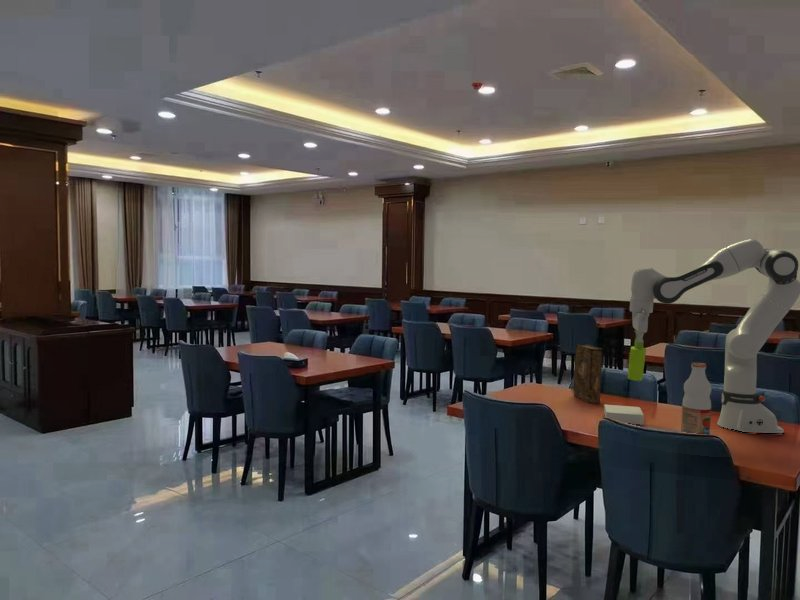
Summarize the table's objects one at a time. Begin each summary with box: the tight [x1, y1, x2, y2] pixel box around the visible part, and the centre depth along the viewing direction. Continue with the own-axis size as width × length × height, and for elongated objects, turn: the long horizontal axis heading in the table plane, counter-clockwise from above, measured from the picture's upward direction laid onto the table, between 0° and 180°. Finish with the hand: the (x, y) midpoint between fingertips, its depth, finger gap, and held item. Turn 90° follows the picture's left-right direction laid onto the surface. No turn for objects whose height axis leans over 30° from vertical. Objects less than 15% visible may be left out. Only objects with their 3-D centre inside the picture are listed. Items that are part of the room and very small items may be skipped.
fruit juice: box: [680, 361, 712, 435], centre depth 217 cm, size 9×9×28 cm
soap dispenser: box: [626, 330, 647, 382], centre depth 245 cm, size 6×7×20 cm
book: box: [573, 344, 603, 404], centre depth 278 cm, size 16×6×25 cm, turn 10°
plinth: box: [603, 403, 645, 426], centre depth 244 cm, size 14×14×4 cm
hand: (638, 341), depth 244 cm, fingers closed on soap dispenser, 4 cm apart
